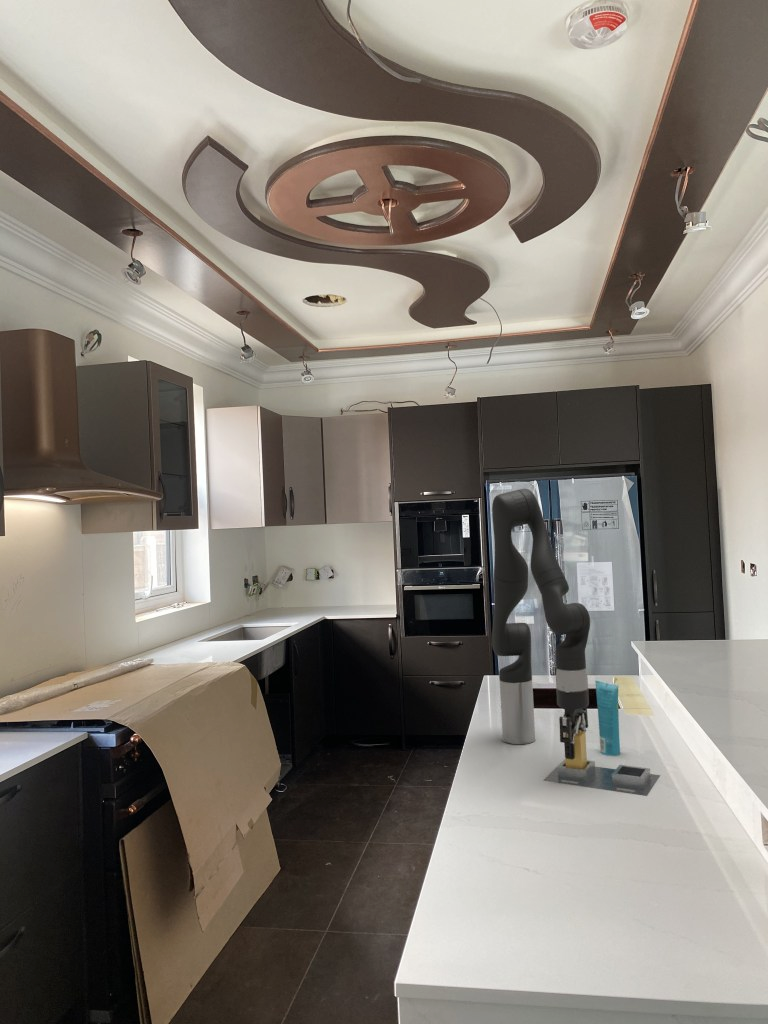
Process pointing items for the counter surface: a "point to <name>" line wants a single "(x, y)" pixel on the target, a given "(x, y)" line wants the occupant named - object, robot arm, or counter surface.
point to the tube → (608, 718)
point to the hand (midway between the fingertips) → (575, 753)
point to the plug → (578, 752)
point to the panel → (606, 778)
